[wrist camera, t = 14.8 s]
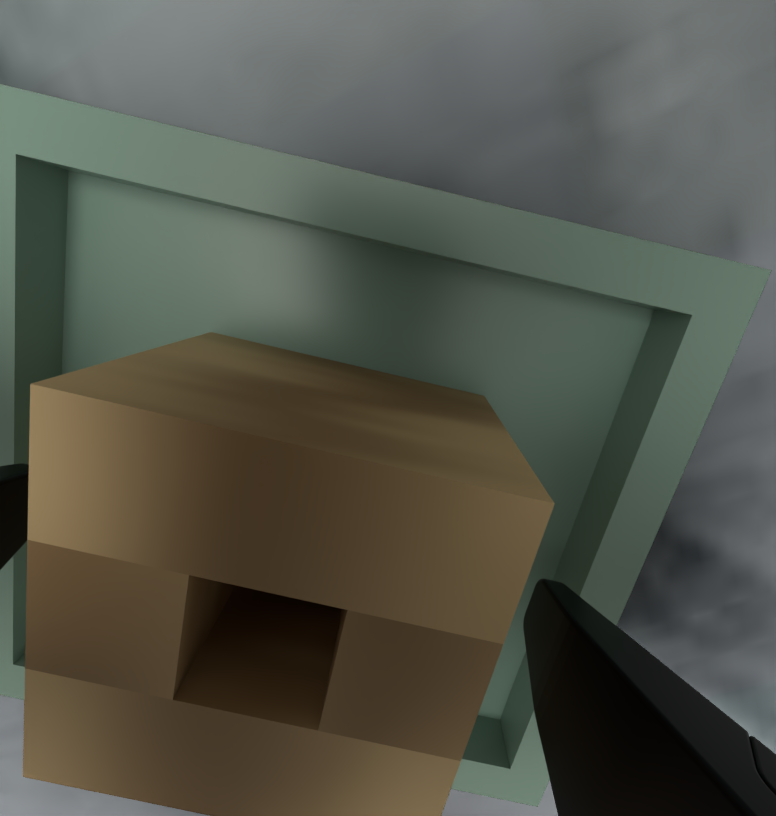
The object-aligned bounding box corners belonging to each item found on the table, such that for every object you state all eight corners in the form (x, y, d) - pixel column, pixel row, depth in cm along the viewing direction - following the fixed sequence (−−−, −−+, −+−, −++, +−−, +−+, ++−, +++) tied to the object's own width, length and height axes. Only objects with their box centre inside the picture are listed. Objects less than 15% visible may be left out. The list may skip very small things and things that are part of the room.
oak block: (483, 395, 10) (554, 502, 5) (417, 621, 12) (425, 859, 7) (211, 331, 10) (30, 383, 5) (181, 569, 12) (22, 776, 7)
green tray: (706, 271, 10) (771, 270, 8) (520, 737, 13) (537, 806, 12) (38, 110, 9) (-45, 73, 8) (28, 633, 13) (-29, 688, 11)
